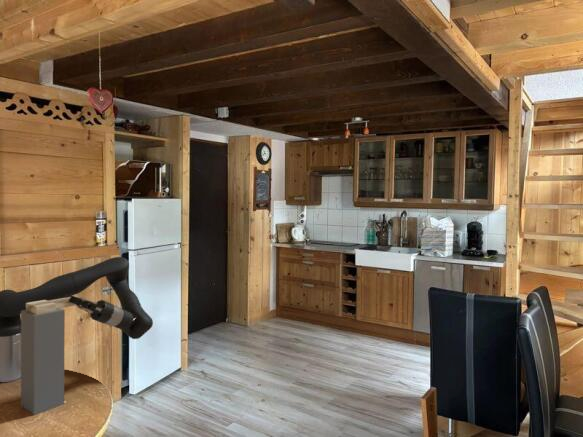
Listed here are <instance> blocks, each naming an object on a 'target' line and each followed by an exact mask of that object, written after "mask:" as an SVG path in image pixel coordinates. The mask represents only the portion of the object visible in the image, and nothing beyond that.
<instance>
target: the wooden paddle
mask: <svg viewBox="0 0 583 437" xmlns="http://www.w3.org/2000/svg"><path fill="white" fill-rule="evenodd" d="M74 296H75V297H77V298H80V299H84V297H83V296H81V295H80V294H79V295H78V294H77V295H74ZM69 300H70V297H67V298H61V299H55V300H50V301H47V300H41V301H35V302H29V303H26V311H28V312H31V313H33V314H36V315H37V314H42V313H47V312H52V311H55V309H59V308H60V309H64V308H68V307H75V306H76V304H74V303H71V302H69Z"/></svg>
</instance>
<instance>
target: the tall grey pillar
mask: <svg viewBox="0 0 583 437" xmlns="http://www.w3.org/2000/svg"><path fill="white" fill-rule="evenodd" d="M65 315H66V314H65V309H64V308H59V309H55V311H52V312H47V313H42V314H37V315H36V314H33V313H31V312H28V311H26V310H23V311H21V314H20V317H21V378H20V407H21V408H24V409H25V410H26V411H28V412H30V413H31V414H32V415H34V416H35V415H38V414H41V413H43V412H47V411H49V410H51V409H54V408H57V407H59V406H62V405H64V404H65V331H66V330H65V325H66V324H65V323H66V322H65V321H66V319H65V318H66V317H65Z"/></svg>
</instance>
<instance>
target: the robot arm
mask: <svg viewBox="0 0 583 437" xmlns="http://www.w3.org/2000/svg"><path fill="white" fill-rule="evenodd" d="M129 269H130V263H129V260H128V259H127V258H125V257H123V256H117V257H116V256H115V257H111V258H108V259H107V260H104V261H101V262H99V263H96V264H94V265H91V266H88V267H85V268H82V269H78V270H75V271H72V272H68V273H65V274H62V275H61V274H60V275H58V276H56V277H53V278H50V279H49V280H48V281H45V282H44V283H41V285H38V286H36V287H34V288H30V289H26V290H21V291H15V290H13V289H3V290H0V383H9V382H13V381H16V380H18V379H21V311H23V310H26V303H29V302H35V301H41V300H47V301H50V300H55V299H61V298H67V297H70V300H69V302H71V303H74V304H76V305H75V306H76V307H77V308H78V309H81V310H83V311H84V312H87V313H90V318H91V320H94V321H96V322H99V323H101V324H102V325H103V324H104V325H107V326H110V327H114V328H116V329H119V330H121V331H122V332H123V333H124V334H126V335H127V336H128V337H129V338H130V339H133V340H139V339H140V338H142V337H143V336H144V335H145V334H146V333H147V332H148V331H150V329H152V328H153V324H154V323H153V322H154V321H153V318H152V317H151V315H149V314H148V313H147V312H146V310H145V309H144V308H143V307H142V305H141V302H140V299H139V297H138V296H137V295H136V293H135V292H134V291H132V289H130V286H129V282H128V275H129ZM102 278H105V279H106V280H107V281H108V283H109V285H110V286H111V288H112V289H113V291H114V292H115V295H116V296H117V298H118V300H119V303H120V306H121V307H119V306H117V305H115V304H113V303H111V302H108V301H106V300H104V299H101V300H98V301H93V300H89V299H86V298H83V299H80V298H77V297H75V296H76V295H78V294H80V293H81V292H83V291H84V290H87V289H88V288H89V287H90V286H91V285H92V284H93V283H95V282H97V281H98V280H100V279H102Z"/></svg>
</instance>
